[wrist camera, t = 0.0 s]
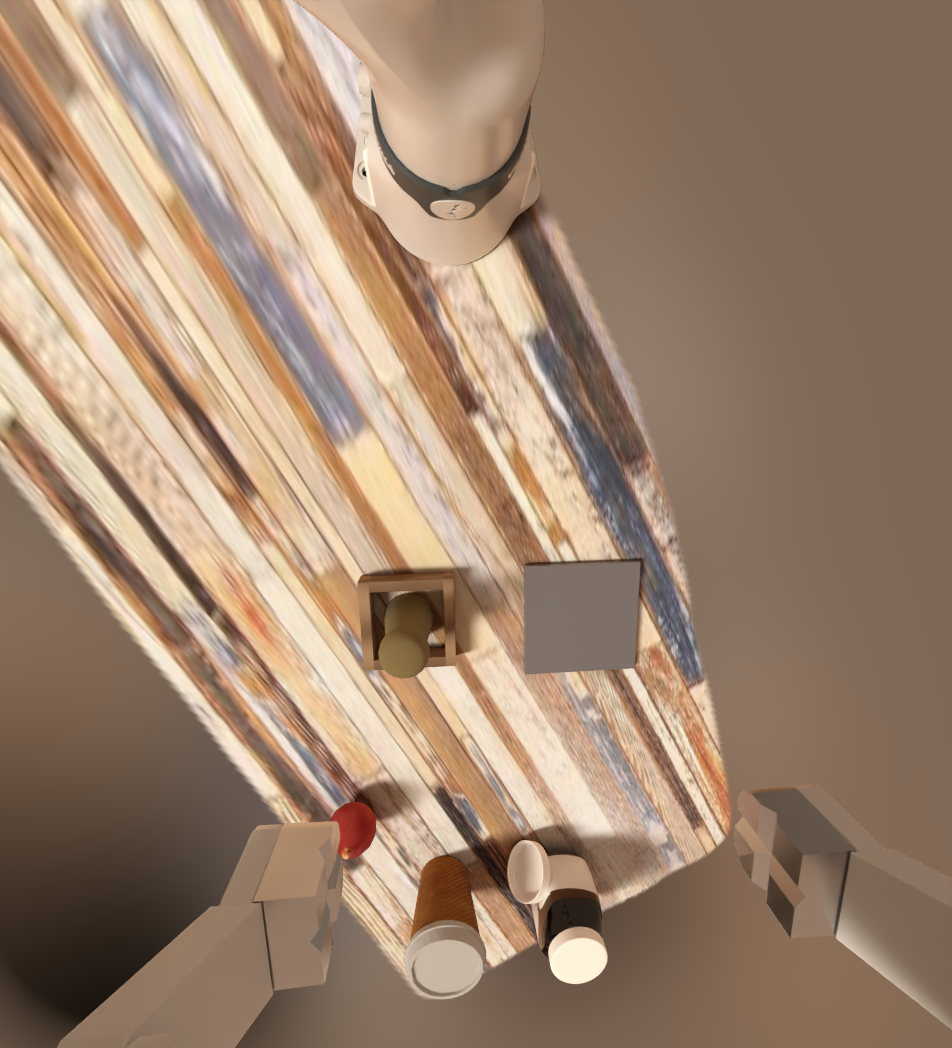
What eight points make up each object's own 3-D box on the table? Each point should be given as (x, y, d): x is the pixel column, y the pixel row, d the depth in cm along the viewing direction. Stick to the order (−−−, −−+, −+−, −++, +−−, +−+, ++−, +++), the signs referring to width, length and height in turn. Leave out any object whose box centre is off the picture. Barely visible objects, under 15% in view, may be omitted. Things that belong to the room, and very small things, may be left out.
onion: (378, 824, 65) (371, 879, 58) (334, 825, 65) (320, 881, 57) (379, 786, 64) (371, 837, 56) (334, 786, 64) (320, 838, 56)
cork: (444, 614, 60) (446, 657, 49) (411, 649, 60) (406, 699, 50) (406, 583, 59) (399, 620, 48) (373, 619, 59) (359, 663, 48)
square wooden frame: (360, 575, 58) (357, 582, 56) (452, 572, 59) (453, 578, 56) (366, 660, 60) (363, 670, 58) (455, 655, 61) (456, 665, 59)
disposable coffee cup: (490, 883, 69) (501, 979, 57) (429, 913, 69) (428, 1014, 57) (458, 834, 67) (463, 923, 55) (396, 865, 67) (387, 960, 55)
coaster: (524, 564, 59) (525, 566, 58) (637, 560, 60) (640, 561, 59) (523, 671, 62) (525, 674, 61) (632, 665, 63) (634, 668, 62)
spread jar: (576, 902, 71) (603, 995, 59) (498, 899, 69) (510, 994, 58) (591, 831, 68) (621, 914, 57) (510, 827, 67) (525, 911, 56)
